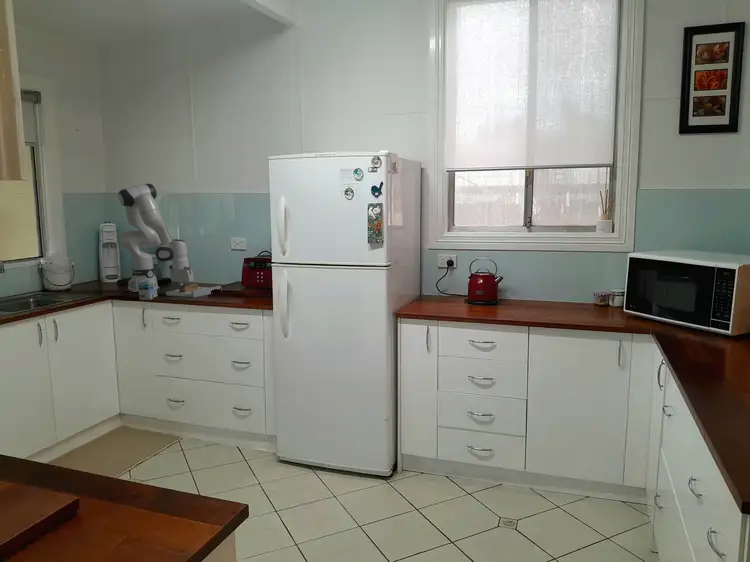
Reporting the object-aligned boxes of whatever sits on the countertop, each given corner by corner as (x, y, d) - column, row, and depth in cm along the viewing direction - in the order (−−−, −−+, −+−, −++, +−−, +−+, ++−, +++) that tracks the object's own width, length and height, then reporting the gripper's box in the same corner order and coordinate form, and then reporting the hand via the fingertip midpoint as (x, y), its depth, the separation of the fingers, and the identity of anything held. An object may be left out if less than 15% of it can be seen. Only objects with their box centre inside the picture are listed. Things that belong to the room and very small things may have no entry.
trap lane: (166, 295, 347) (165, 289, 347) (194, 289, 365) (193, 284, 364) (193, 297, 334) (193, 291, 333) (221, 291, 351) (221, 285, 351)
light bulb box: (150, 299, 333) (148, 281, 332) (139, 300, 333) (137, 281, 332) (157, 296, 344) (156, 278, 342) (146, 297, 344) (145, 279, 342)
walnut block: (179, 292, 343) (178, 285, 342) (192, 289, 351) (192, 283, 351) (185, 292, 340) (184, 285, 340) (198, 290, 349) (197, 283, 348)
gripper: (195, 266, 342) (197, 289, 344) (176, 265, 355) (178, 287, 357) (185, 267, 337) (188, 290, 339) (167, 266, 350) (169, 288, 352)
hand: (183, 288), depth 348 cm, fingers closed
